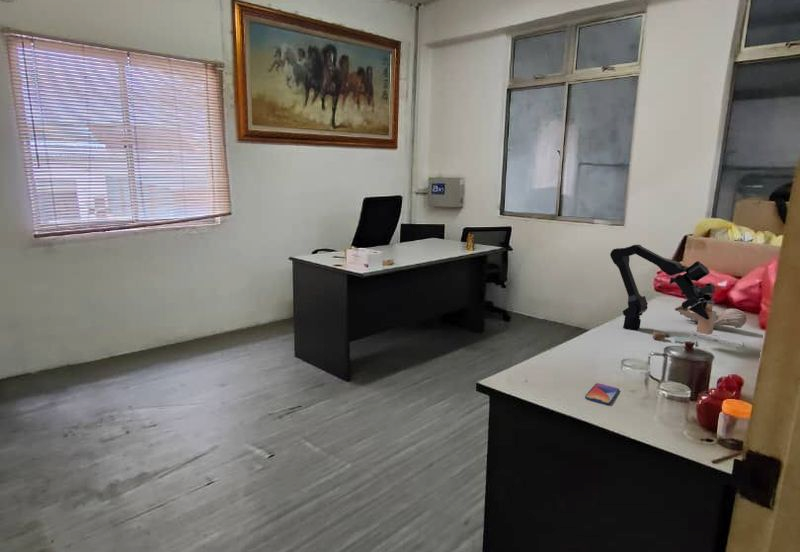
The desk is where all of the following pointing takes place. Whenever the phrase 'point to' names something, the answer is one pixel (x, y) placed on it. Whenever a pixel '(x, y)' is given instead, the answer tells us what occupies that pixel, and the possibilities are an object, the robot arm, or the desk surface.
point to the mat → (682, 339)
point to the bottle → (704, 324)
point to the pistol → (718, 339)
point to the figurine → (719, 317)
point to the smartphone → (602, 394)
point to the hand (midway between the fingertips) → (710, 318)
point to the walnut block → (659, 336)
